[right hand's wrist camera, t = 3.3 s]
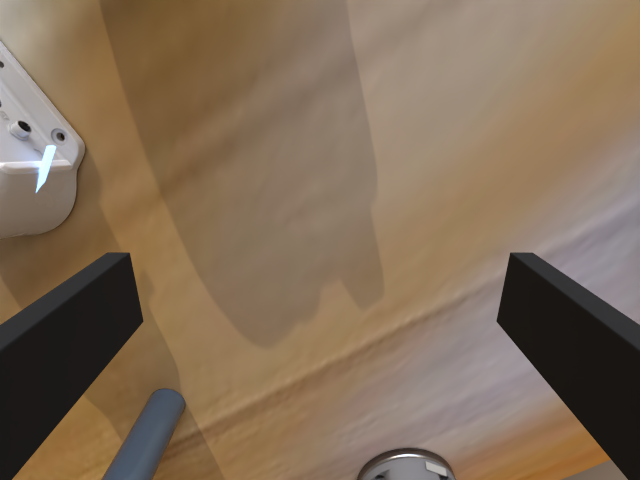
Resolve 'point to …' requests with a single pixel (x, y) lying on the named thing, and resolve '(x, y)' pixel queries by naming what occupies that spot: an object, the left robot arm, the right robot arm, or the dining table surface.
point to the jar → (147, 438)
